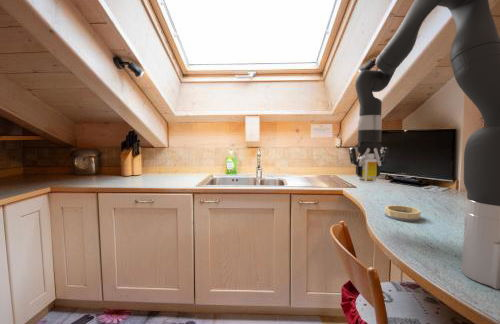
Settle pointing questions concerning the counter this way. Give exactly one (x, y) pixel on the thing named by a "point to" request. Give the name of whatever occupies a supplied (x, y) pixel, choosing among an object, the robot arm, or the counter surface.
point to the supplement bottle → (369, 169)
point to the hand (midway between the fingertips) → (367, 176)
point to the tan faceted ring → (402, 213)
